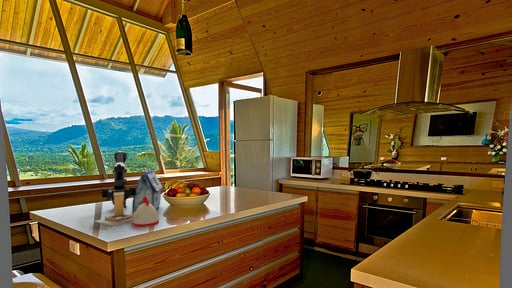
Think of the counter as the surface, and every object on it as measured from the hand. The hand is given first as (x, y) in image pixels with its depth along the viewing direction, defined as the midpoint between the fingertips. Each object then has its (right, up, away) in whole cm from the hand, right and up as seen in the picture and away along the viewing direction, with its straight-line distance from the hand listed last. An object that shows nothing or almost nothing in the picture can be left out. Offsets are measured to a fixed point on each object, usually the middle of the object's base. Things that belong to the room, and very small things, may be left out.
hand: (118, 203), depth 167 cm
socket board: (-1, -10, +1) cm, 10 cm away
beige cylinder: (-1, -7, +1) cm, 7 cm away
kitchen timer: (+18, -10, -6) cm, 22 cm away
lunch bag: (+8, -10, +25) cm, 28 cm away
